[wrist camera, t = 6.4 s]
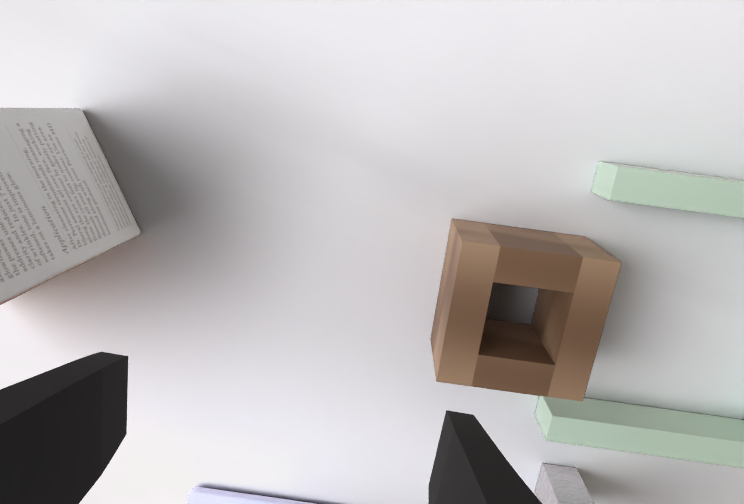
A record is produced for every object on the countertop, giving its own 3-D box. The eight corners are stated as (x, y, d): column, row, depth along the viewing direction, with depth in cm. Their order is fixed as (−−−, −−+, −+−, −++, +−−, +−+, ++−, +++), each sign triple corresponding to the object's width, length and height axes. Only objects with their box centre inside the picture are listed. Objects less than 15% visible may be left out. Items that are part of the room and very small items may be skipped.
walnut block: (554, 356, 22) (582, 401, 18) (430, 338, 22) (436, 381, 19) (584, 236, 20) (621, 262, 17) (451, 218, 20) (462, 241, 17)
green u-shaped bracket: (761, 446, 23) (791, 474, 21) (534, 415, 23) (545, 440, 21) (863, 196, 19) (909, 205, 18) (598, 161, 19) (618, 166, 18)
